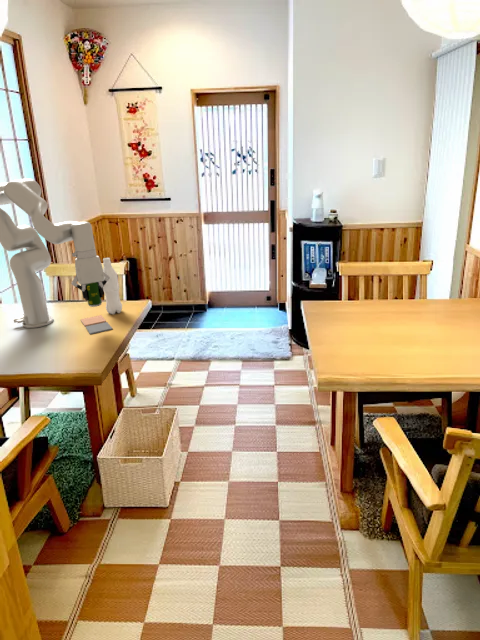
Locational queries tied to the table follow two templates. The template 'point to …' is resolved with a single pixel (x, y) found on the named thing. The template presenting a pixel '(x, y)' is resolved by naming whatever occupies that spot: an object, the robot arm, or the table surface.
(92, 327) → the slate coaster
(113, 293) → the water bottle
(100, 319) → the terracotta coaster
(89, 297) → the beer can
